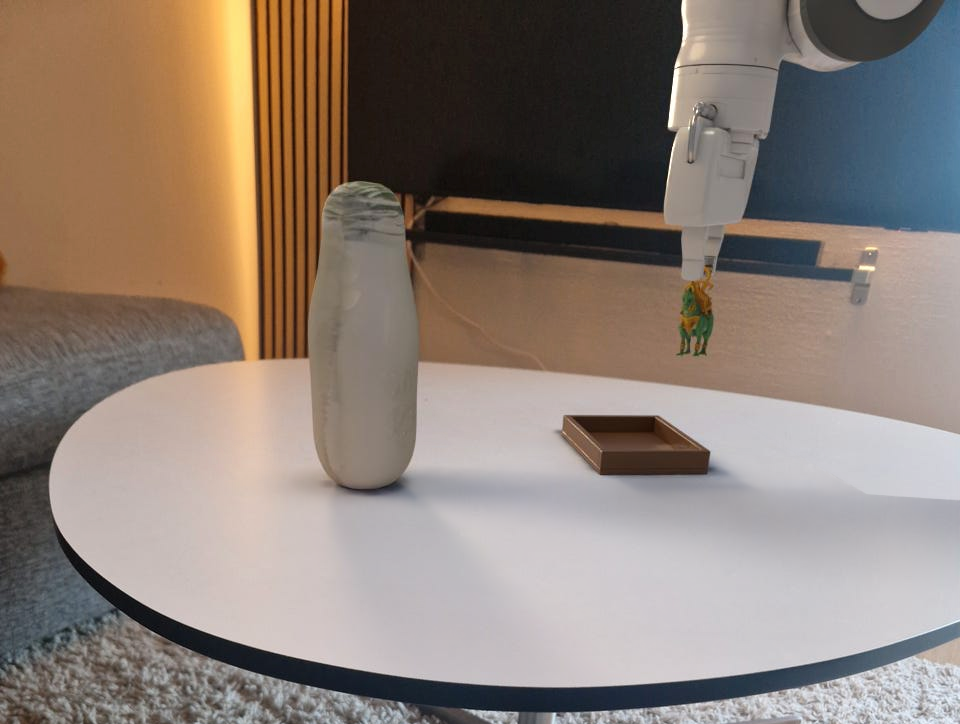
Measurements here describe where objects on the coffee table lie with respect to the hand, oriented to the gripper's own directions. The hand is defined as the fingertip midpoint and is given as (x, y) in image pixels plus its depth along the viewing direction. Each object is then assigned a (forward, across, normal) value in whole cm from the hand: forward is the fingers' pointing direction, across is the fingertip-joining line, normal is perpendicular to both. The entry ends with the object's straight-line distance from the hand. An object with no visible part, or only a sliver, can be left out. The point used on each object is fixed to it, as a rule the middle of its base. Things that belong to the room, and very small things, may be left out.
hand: (697, 278), depth 87 cm
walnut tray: (+21, +14, +8) cm, 27 cm away
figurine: (+7, +1, 0) cm, 7 cm away
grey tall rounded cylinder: (+21, -14, +28) cm, 38 cm away
